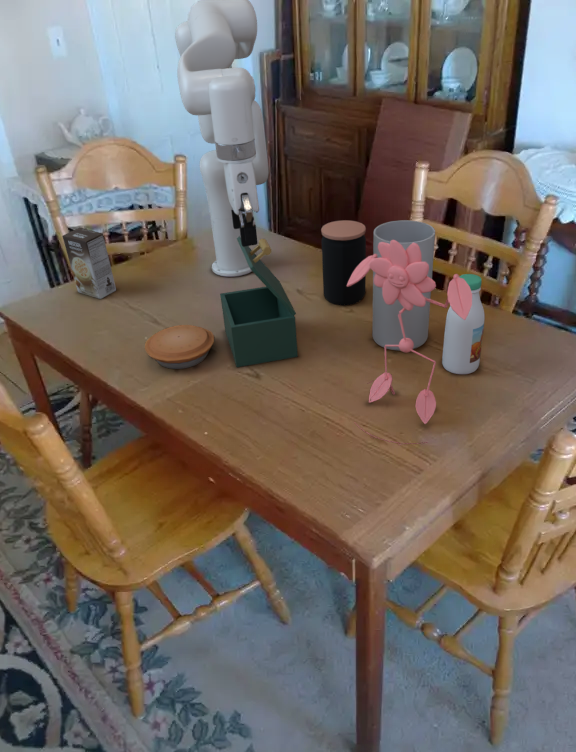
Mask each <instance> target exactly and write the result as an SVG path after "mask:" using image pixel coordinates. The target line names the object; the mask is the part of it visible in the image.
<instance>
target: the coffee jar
mask: <svg viewBox="0 0 576 752" xmlns="http://www.w3.org/2000/svg"><path fill="white" fill-rule="evenodd" d="M320 231H321V235H322V237H321V260H322V261H321V264H322V289H323V291H322V292H323V293H322V294H323V297H324V298H325V299H326V301H327V302H328V303H330V304H332V305H335V306H343V307H344V306H352V305H356V304H358V303H360V302H361V301H362V300H363V299H364V297H365V295H366V288H367V287H366V285H367V284H366V281H367V279H366V276H367V274H366V275H365V276H364V277H363V278H362V279H361V280H360V281H358V282H357V283H355V284H353V285H351V286H349V287H347V284H348V281H349V279H350V277H351V275H352V273H353V271H354V270H355V269H356V267H357V266H358V265H359V264H360V263H361V262H362V261H363V260H364V259H366V258H367V238H366V235H365V234H366V231H367V228H366V225H365V224H363V223H362V222H359V221H356V220H346V219H345V220H343V219H342V220H335V221H331V222H328V223H325V224H324V225H322V227H321V229H320Z"/></svg>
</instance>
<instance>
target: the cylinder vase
mask: <svg viewBox="0 0 576 752" xmlns="http://www.w3.org/2000/svg"><path fill="white" fill-rule="evenodd" d="M391 240H396V241H397V242H399V243H400V244H401V245H402V246H403V248H404V249H405V251H406V249H407V248H408V247H409V246H410V245H411V244H412V243H416V244H418V246H419V247H420V250H421V255H422V262H427V263H428V265H429V271H428V275H427V276H428V277H430V278H431V279H432V280H433V269H434V268H433V267H434V254H435V243H436V242H435V240H436V229H435V228H434V227H433V226H432V225H430V224H429V223H427V222H424V221H423V222H422V221H418V220H407V219H403V220H391V221H387V222H384V223H381V224H379V225H377V226H376V227H375V228H374V229H373V243H372V244H373V247H372V248H373V250H372V252H373V254H377V256H378V257H377V258H380V257H381V258H382V256H381V254H380V252H379V250H378V244H379V243H380V242H385V243H389V244H390V241H391ZM373 254H372V255H373ZM375 274H376V273H375V272H374V271H373V270H372V334H371V335H372V339H373V341H374V342H375V344H377V345H378V346H380V347H381V348H384V346H385V345H399V342H400V340H402V339H403V338H404V337H403V333H402V329H401V325H400V322H399V318H398V314H399V311H401V310H402V309H403V308H404V307H403V306H402V305H401V303H400V302H399V301H398V299H397V300H396V301H395V302H394V304H392V305H388V304H386V303H385V301H384V298H383V294H382V287H377V286H376V285H375V284H374V276H375ZM422 294H423V296H424V297H426V298H428V299H431V297H432V291H431V292H427V293H422ZM431 300H432V299H431ZM430 311H431V303H430V302H428V301H426V304H425V306H423V307H419V306H415V305H414V306H413V308H412V310H410V311H408V310H405V311H404V312H403V313H402V314H401V317H402V322H403V327H404V332H405V337H406V338H410V339H411V340H412V341H413V343H414V347H413V349H412V350H414V349H417V348H419V347H422V346H423V345H424V344H425V343H426V341H427V340H428V338H429V325H430ZM384 349H385V348H384ZM386 350H390V351H399V352H402V351H401V350H400V349H399V347H388V346H386Z"/></svg>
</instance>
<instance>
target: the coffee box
mask: <svg viewBox="0 0 576 752" xmlns="http://www.w3.org/2000/svg"><path fill="white" fill-rule="evenodd" d="M61 237H62V240H63V244H64V247H65V250H66V254H67V258H68V262H69V265H70V269H71V272H72V276H73V279H74V283H75V286H76V289H77V292H78V293H80V294H83V295H86V296H90V297H93V298H95V299H99V300H102V299H103V298H105V297H108V295H111V294H112V293H114V292H116V291H117V287H116V283H115V279H114V274H113V269H112V265H111V262H110V257H109V253H108V250H107V244H106V241H105V236H104V233H103V232H99V231H95V230H91V229H87V228H84V227H78V228H75V229H73V230H71V231H69V232H67V233H65V234H63V235H62V236H61Z"/></svg>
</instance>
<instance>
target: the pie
mask: <svg viewBox="0 0 576 752" xmlns="http://www.w3.org/2000/svg"><path fill="white" fill-rule="evenodd" d="M144 343H145V344H144V350H145V352H146V354H147V355H148V356H149V357H150V358H151V359H152V360H154V361H156V362H157V363H158V365H160V366H161V367H164V368H167V369H171V370H182V369H189V368H191V367H194V366H197V365H198V364H200V363H201V362H203V361H204V360H205V359H206V357H207V355H208V354H209V351H210V350H211V348H212V347H213V345H214V343H215V335H214V333H213V332H212V331H211V330H209V329H207V328H204V327H201V326H197V325H192V324H178V325H173V326H170V327H169V326H168V327H166V328H163V329H161V330H159V331H157V332H155V333H154V334H153V335H151V336H150V337H149V338H147V340H146V341H145V342H144Z"/></svg>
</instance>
